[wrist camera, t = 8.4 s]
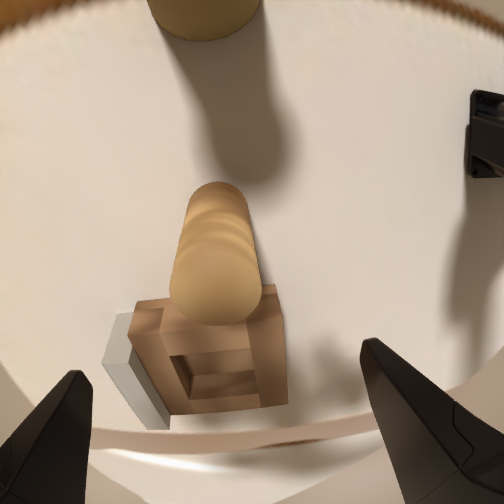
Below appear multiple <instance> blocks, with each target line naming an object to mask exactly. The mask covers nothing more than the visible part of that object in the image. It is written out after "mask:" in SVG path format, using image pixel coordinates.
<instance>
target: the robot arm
mask: <svg viewBox="0 0 504 504" xmlns="http://www.w3.org/2000/svg"><path fill="white" fill-rule="evenodd" d="M478 95H479V98H478ZM473 170H474V172H473ZM467 171H468V175H469V176H471V177H472V178H495V177H504V95H502V94H498V93H493V92H488V91H483V90H477V89H475V90H473V92H472V107H471V134H470V148H469V160H468V170H467ZM360 365H361V369H362V372H363V376H364V380H365V384H366V388H367V392H368V396H369V400H370V404H371V407H372V410H373V413H374V415H375V418H376V421H377V423H378V426H379V429H380V432H381V434H382V437H383V440H384V443H385V445H386V448H387V451H388V454H389V457H390V459H391V462H392V465H393V468H394V471H395V474H396V477H397V480H398V483H399V486H400V489H401V491H402V495H403V498H404V501H405V504H504V434H502V433H501V432H499V431H498V430H496V429H494V428H493V427H491V426H490V425H488V424H486V423H485V422H483V421H482V420H480V419H479V418H478V417H476V416H474V415H473V414H472V413H471V412H469V411H468V410H466V409H465V408H464V407H463V406H461V405H460V404H459V403H458V402H457V401H454V399H453V398H451V397H450V396H449V395H448V394H446V393H445V392H444V391H443V390H442V389H440V388H439V387H438V386H437V385H435V384H434V383H433V382H432V381H430V380H429V379H428V378H427V377H425V376H424V375H423V374H422V373H420V372H419V371H418V370H417V369H415V368H414V367H413V366H412V365H410V364H409V363H408V362H407V361H405V360H404V359H403V358H402V357H400V356H399V355H398V354H397V353H395V352H394V351H393V350H392V349H390V348H389V347H388V346H386V345H385V344H384V343H383V342H381V341H380V340H379V339H378V338H375V337H374V338H369V339H365V340H364V341H363V342H362V347H361V353H360ZM92 402H93V387H92V385H91V383H90V382H89V380H88V379H87V377H86V376H85V374H84V373H83V372H82V371H81V370H70V371H69V372H68V373H67V374H66V375H65V376H64V377H63V378H62V379H61V380H60V381H59V382H58V383H57V385H56V386H55V387H54V388H53V389H52V390H51V391H50V392H49V393H48V394H47V395H46V396H45V398H44V399H43V400H42V401H41V402H40V403H39V404H38V405H37V406H36V407H35V409H34V410H33V411H32V412H31V413H30V414H29V415H28V416H27V418H26V419H25V420H24V421H23V422H22V423H21V424H20V426H19V427H18V428H17V429H16V430H15V431H14V432H13V433H12V435H11V436H10V437H9V438H8V439H7V440H6V441H5V443H4V444H3V445H2V446H1V447H0V504H85V489H86V476H87V465H88V455H89V446H90V438H91V427H92Z"/></svg>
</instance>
